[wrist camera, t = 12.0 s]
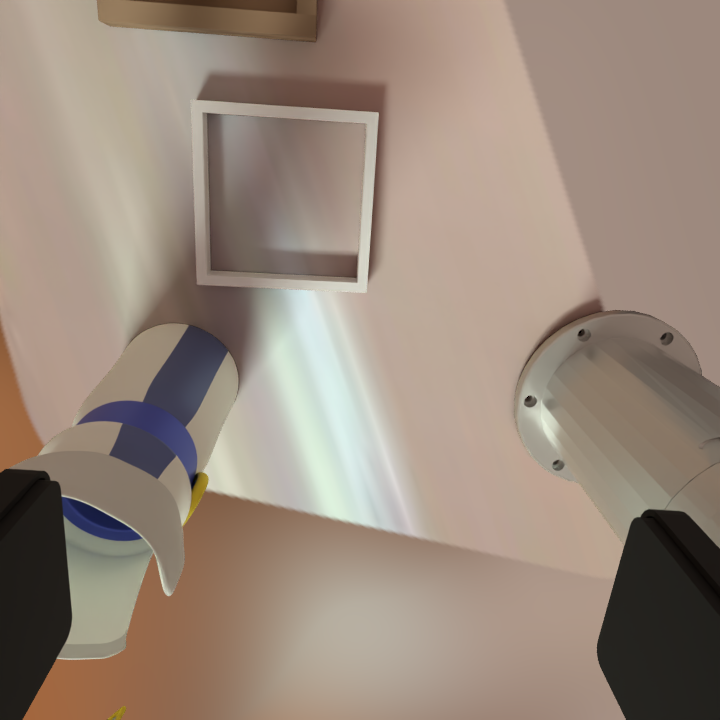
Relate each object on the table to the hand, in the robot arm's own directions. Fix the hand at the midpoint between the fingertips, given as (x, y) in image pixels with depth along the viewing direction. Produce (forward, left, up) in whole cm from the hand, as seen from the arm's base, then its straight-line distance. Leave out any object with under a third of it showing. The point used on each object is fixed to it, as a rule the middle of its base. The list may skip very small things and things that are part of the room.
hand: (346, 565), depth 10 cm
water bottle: (+9, +9, -29) cm, 32 cm away
